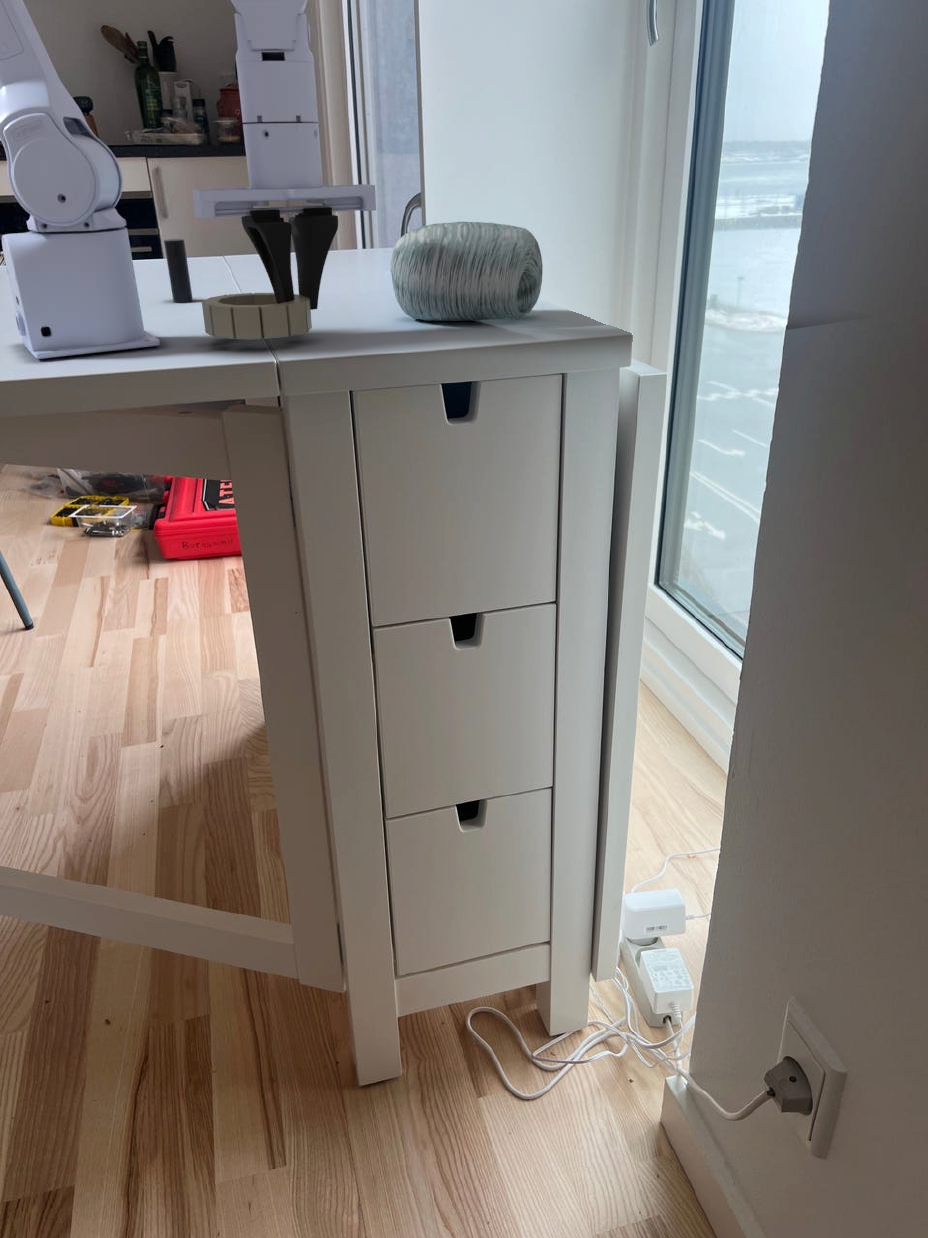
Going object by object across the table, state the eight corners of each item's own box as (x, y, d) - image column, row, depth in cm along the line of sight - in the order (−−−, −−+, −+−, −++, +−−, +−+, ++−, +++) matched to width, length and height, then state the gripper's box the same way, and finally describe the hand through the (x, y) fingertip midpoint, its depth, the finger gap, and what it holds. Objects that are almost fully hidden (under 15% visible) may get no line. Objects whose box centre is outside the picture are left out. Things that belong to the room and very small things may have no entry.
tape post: (176, 303, 96) (166, 241, 93) (171, 300, 97) (161, 239, 95) (195, 301, 97) (186, 239, 94) (189, 298, 98) (181, 238, 95)
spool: (552, 271, 87) (526, 173, 80) (555, 335, 82) (528, 235, 74) (417, 306, 91) (379, 215, 83) (411, 369, 85) (371, 278, 78)
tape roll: (224, 342, 70) (220, 310, 69) (194, 326, 77) (190, 296, 76) (326, 333, 74) (324, 302, 73) (289, 318, 81) (287, 290, 80)
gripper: (201, 122, 64) (227, 324, 70) (389, 122, 70) (397, 307, 77) (175, 124, 69) (201, 311, 76) (351, 124, 76) (361, 296, 82)
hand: (297, 309), depth 77 cm, fingers closed on tape roll, 1 cm apart
